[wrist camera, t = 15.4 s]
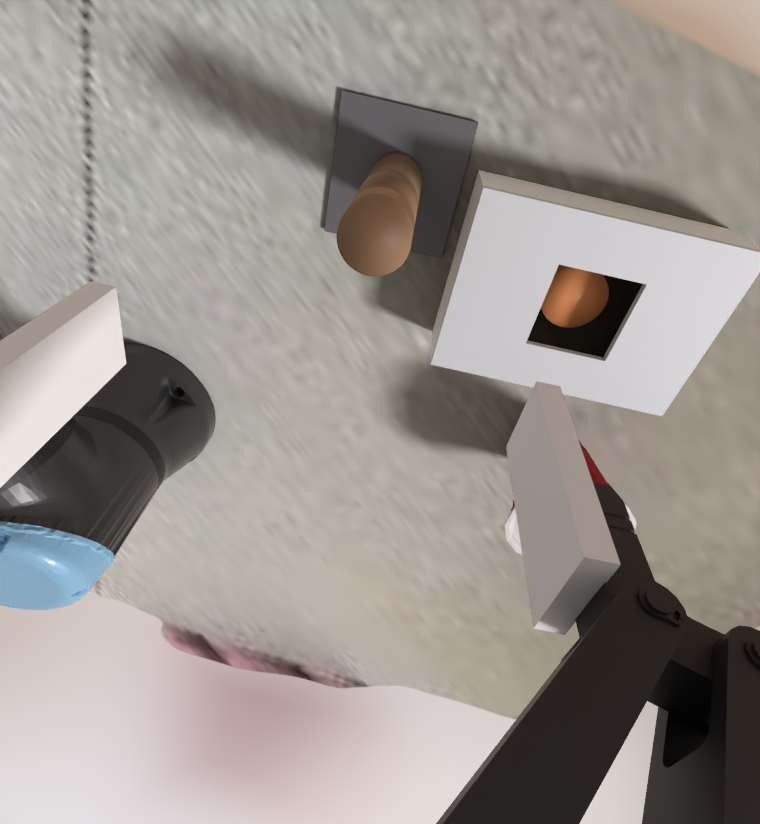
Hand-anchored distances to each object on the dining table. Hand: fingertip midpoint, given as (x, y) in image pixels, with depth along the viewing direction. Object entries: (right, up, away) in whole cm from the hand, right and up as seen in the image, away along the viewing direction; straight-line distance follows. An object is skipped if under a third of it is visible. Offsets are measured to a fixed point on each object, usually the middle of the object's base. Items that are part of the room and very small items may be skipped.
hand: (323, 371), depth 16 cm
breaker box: (+18, +9, +26) cm, 33 cm away
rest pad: (+3, +17, +23) cm, 29 cm away
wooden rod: (+3, +17, +23) cm, 28 cm away
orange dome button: (+18, +9, +26) cm, 33 cm away
